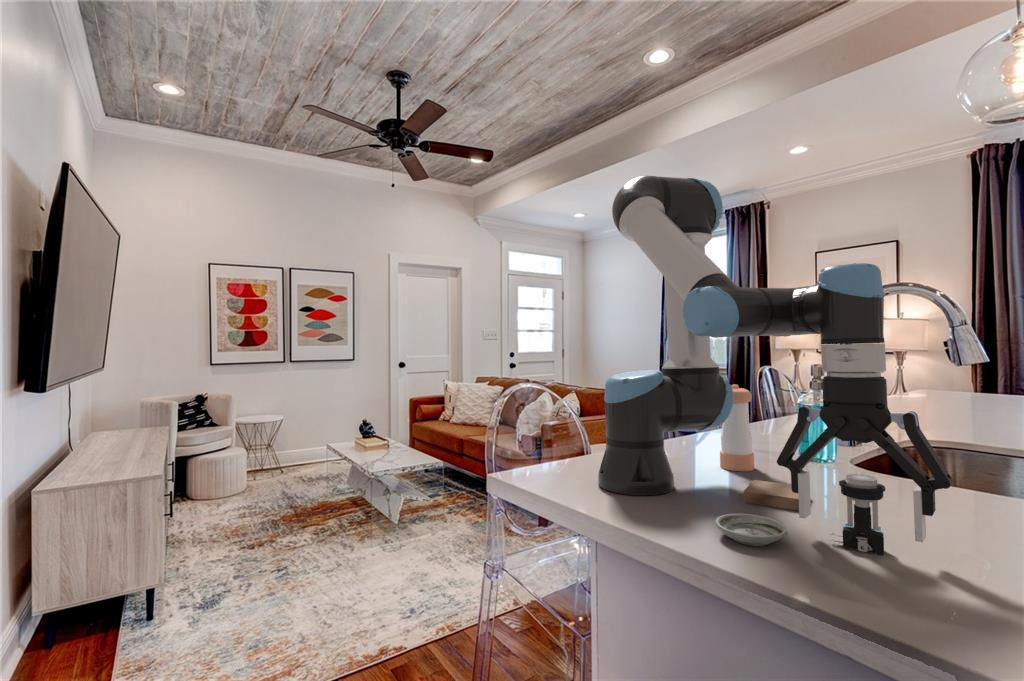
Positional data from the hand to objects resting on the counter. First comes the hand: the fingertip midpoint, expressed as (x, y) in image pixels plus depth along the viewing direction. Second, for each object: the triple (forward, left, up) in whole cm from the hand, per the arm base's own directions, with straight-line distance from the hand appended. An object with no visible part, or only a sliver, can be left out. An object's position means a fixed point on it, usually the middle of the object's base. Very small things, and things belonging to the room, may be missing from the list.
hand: (858, 526), depth 71 cm
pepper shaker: (-31, +34, -3) cm, 46 cm away
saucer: (-12, -7, -3) cm, 14 cm away
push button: (0, 0, -3) cm, 3 cm away
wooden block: (-16, +15, -3) cm, 22 cm away
